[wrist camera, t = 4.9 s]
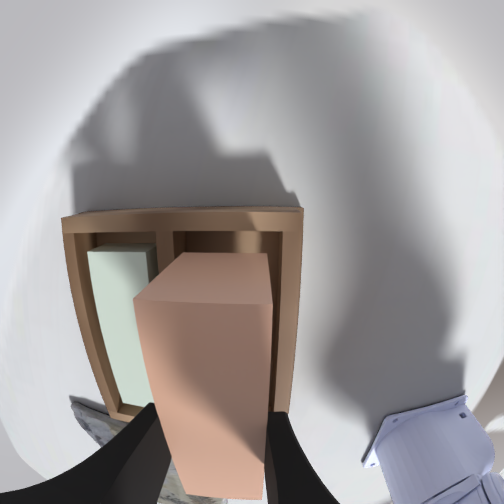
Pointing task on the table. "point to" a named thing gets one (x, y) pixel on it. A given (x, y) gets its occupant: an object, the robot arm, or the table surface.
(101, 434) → the fossil rock
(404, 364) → the table surface
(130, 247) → the glazed tile
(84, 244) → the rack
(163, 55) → the table surface
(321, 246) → the table surface
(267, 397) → the clay bar
